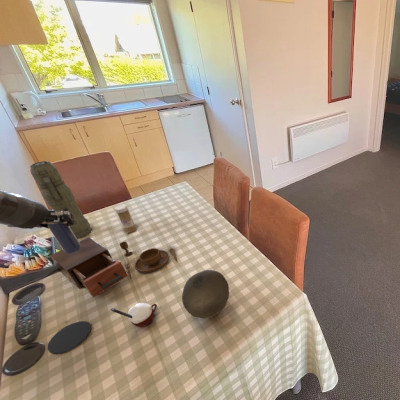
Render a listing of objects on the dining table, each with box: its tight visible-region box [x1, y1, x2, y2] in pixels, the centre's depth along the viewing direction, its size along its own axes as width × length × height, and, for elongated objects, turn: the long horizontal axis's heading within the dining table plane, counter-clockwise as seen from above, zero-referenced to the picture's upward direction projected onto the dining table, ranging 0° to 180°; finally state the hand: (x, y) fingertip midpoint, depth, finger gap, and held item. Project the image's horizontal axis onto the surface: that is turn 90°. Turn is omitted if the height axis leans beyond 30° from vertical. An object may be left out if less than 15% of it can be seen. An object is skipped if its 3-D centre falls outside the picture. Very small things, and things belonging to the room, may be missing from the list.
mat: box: [47, 320, 92, 355], centre depth 79 cm, size 10×10×1 cm
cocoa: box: [110, 302, 158, 328], centre depth 80 cm, size 10×6×12 cm, turn 128°
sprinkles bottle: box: [114, 204, 137, 234], centre depth 121 cm, size 5×5×13 cm
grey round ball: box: [181, 269, 230, 319], centre depth 83 cm, size 14×14×15 cm
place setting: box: [119, 241, 178, 279], centre depth 107 cm, size 18×20×6 cm
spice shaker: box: [46, 217, 81, 253], centre depth 81 cm, size 4×4×13 cm
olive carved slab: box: [29, 160, 93, 240], centre depth 115 cm, size 9×12×35 cm
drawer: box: [71, 253, 129, 298], centre depth 95 cm, size 18×11×7 cm, turn 59°
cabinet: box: [49, 236, 113, 290], centre depth 101 cm, size 15×13×9 cm
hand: (62, 224), depth 82 cm, fingers closed on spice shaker, 4 cm apart
